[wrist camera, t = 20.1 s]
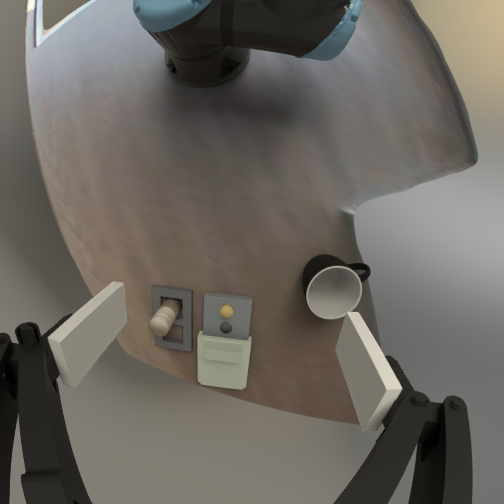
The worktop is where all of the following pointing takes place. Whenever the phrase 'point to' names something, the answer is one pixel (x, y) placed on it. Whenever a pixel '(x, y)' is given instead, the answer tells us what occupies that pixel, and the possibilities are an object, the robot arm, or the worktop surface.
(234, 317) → the board
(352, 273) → the mug
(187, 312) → the socket board
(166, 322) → the pin
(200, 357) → the cover
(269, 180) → the worktop surface
